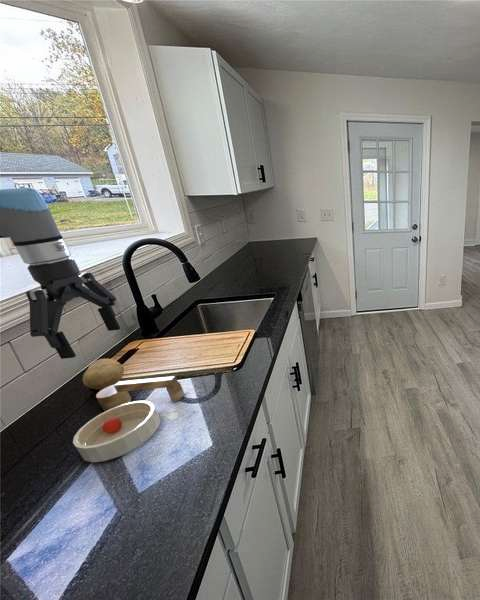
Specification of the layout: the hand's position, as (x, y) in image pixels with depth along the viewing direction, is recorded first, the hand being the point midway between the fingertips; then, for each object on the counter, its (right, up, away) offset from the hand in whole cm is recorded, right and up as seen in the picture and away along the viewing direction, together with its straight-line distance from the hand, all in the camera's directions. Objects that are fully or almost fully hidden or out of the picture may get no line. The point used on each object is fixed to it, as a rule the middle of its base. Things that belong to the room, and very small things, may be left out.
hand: (93, 342), depth 79 cm
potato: (-17, -17, +22) cm, 33 cm away
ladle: (+2, -19, +14) cm, 24 cm away
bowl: (+7, -24, +1) cm, 25 cm away
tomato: (+3, -22, +2) cm, 22 cm away
